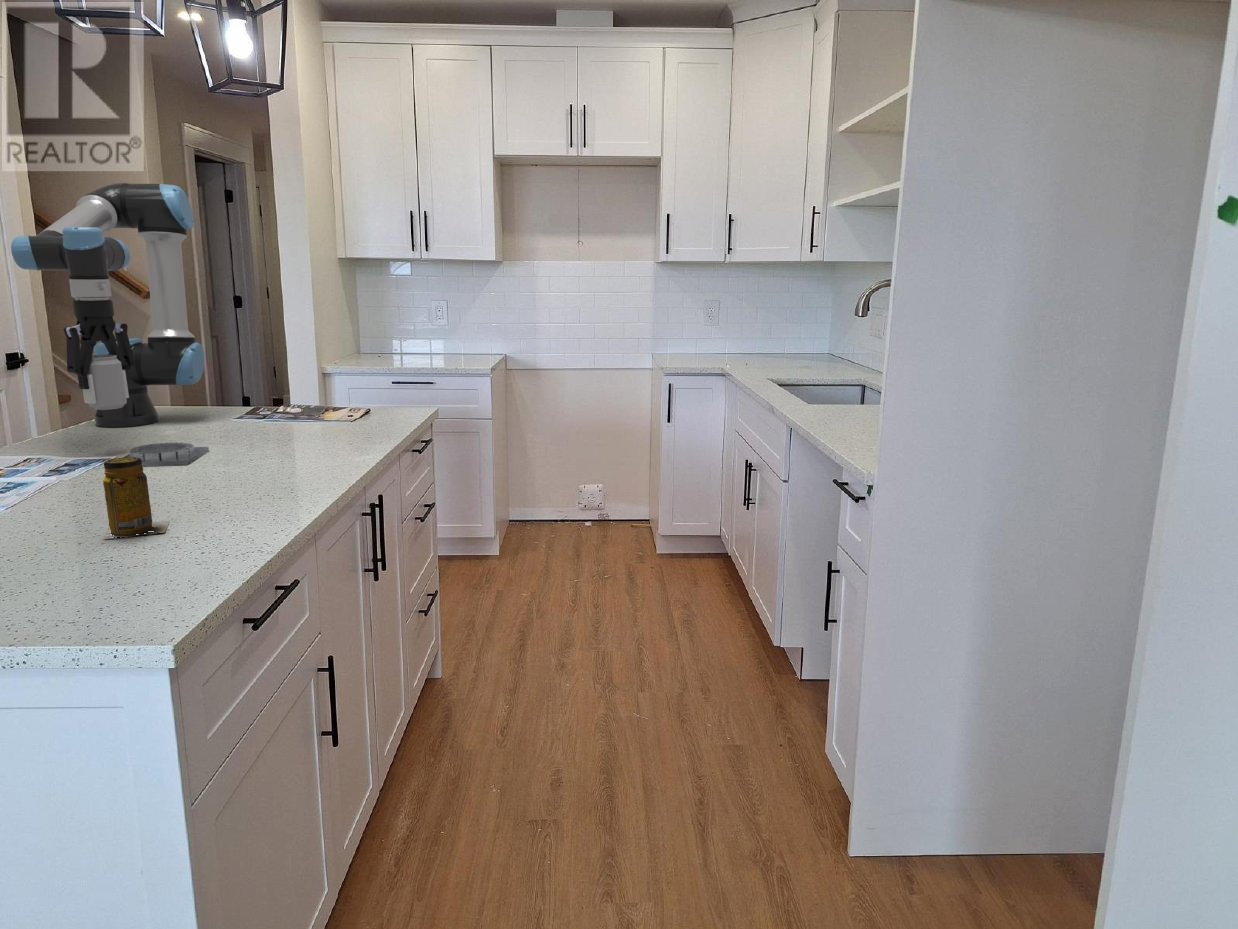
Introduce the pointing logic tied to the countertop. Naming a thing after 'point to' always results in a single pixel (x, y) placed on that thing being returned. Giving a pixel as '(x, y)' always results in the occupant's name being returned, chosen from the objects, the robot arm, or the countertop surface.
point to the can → (107, 382)
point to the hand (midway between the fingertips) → (107, 400)
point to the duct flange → (167, 454)
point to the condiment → (128, 499)
